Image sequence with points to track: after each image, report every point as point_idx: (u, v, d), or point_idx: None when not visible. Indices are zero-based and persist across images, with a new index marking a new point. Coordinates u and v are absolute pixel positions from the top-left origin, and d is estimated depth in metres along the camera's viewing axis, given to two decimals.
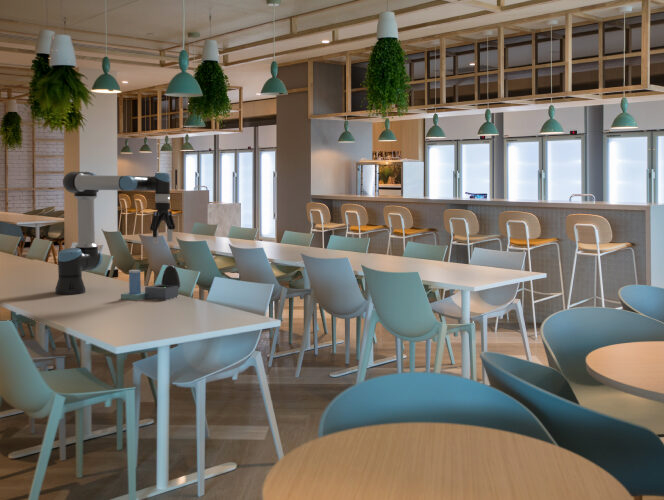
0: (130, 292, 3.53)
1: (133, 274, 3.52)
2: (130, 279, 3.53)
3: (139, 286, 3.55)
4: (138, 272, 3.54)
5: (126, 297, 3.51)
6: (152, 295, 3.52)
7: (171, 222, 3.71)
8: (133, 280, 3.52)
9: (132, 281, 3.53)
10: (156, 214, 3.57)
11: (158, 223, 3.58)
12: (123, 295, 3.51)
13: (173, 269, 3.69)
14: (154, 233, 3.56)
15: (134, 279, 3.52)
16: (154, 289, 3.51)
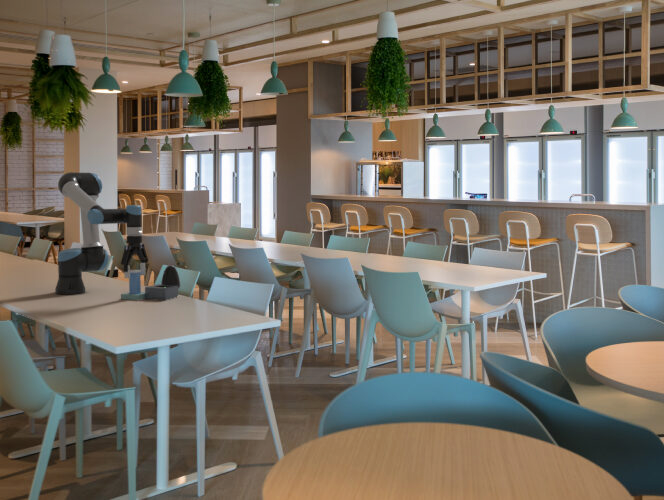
0: (130, 292, 3.53)
1: (133, 274, 3.52)
2: (130, 279, 3.53)
3: (139, 286, 3.55)
4: (138, 272, 3.54)
5: (126, 297, 3.51)
6: (152, 295, 3.52)
7: (144, 255, 3.60)
8: (133, 280, 3.52)
9: (132, 281, 3.53)
10: (127, 248, 3.46)
11: (129, 257, 3.47)
12: (123, 295, 3.51)
13: (173, 269, 3.69)
14: (125, 268, 3.46)
15: (134, 279, 3.52)
16: (154, 289, 3.51)
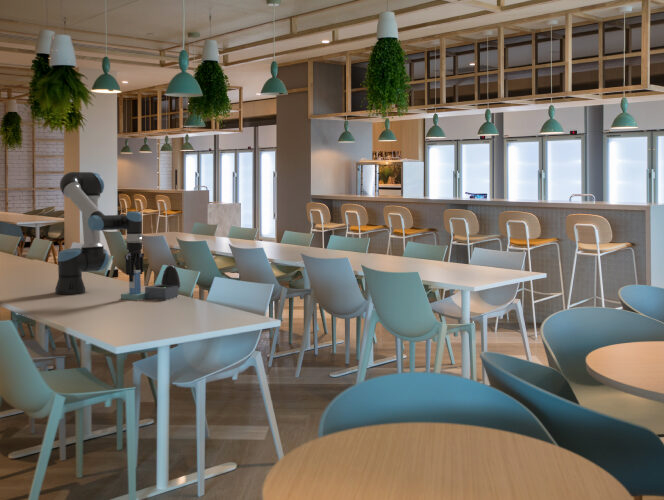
0: (130, 292, 3.53)
1: None
2: None
3: (139, 286, 3.55)
4: (138, 272, 3.54)
5: (126, 297, 3.51)
6: (152, 295, 3.52)
7: (140, 265, 3.58)
8: None
9: None
10: (128, 258, 3.47)
11: (132, 267, 3.50)
12: (123, 295, 3.51)
13: (173, 269, 3.69)
14: (130, 278, 3.51)
15: None
16: (154, 289, 3.51)
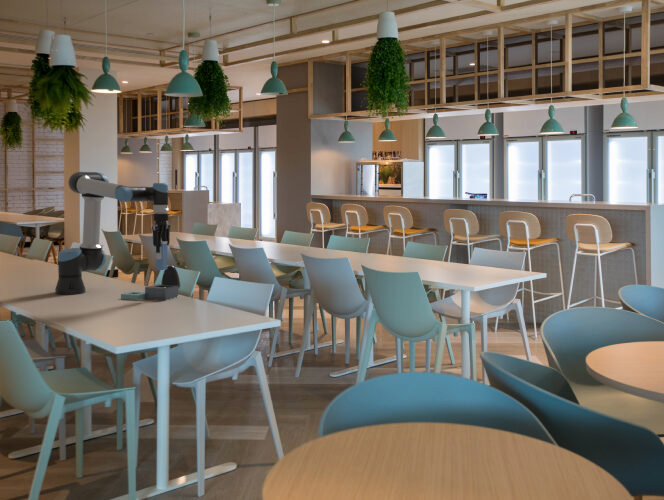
0: (157, 263, 3.54)
1: None
2: None
3: (166, 258, 3.55)
4: (165, 243, 3.54)
5: (126, 297, 3.51)
6: (152, 295, 3.52)
7: (167, 237, 3.58)
8: None
9: None
10: (155, 229, 3.48)
11: (159, 238, 3.51)
12: (123, 295, 3.51)
13: (173, 269, 3.69)
14: (157, 249, 3.51)
15: None
16: (154, 289, 3.51)
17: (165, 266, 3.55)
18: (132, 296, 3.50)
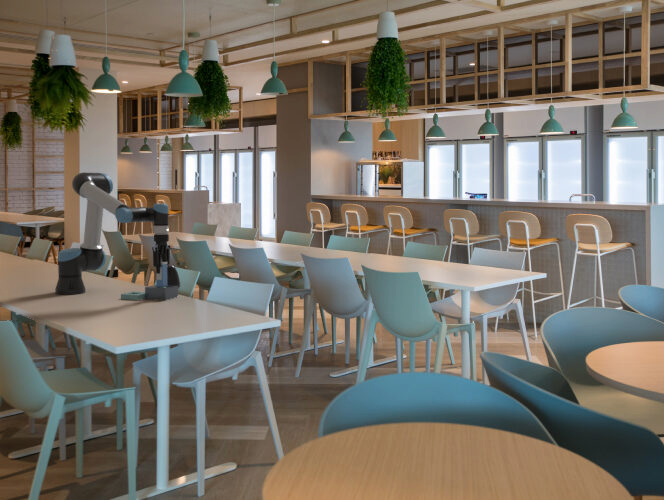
0: (157, 284, 3.55)
1: None
2: None
3: (166, 278, 3.56)
4: (165, 264, 3.55)
5: (126, 297, 3.51)
6: (152, 295, 3.52)
7: (167, 257, 3.59)
8: None
9: None
10: (155, 250, 3.49)
11: (160, 258, 3.52)
12: (123, 295, 3.51)
13: (173, 269, 3.69)
14: (157, 269, 3.52)
15: None
16: (154, 289, 3.51)
17: (165, 286, 3.56)
18: (132, 296, 3.50)
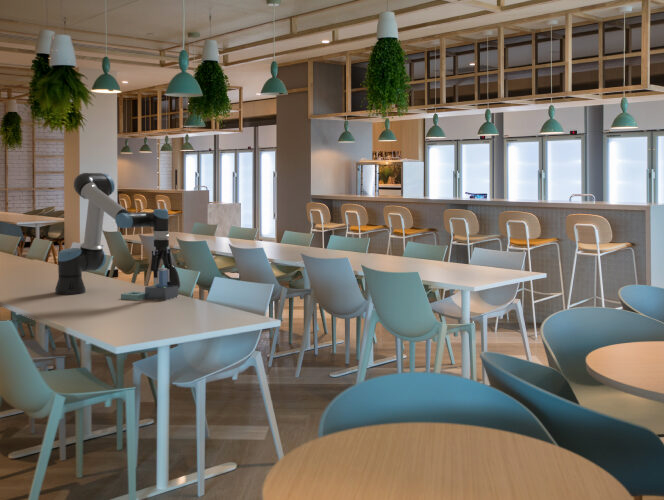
0: None
1: (160, 272, 3.54)
2: None
3: (166, 284, 3.57)
4: (165, 270, 3.55)
5: (126, 297, 3.51)
6: (152, 295, 3.52)
7: (168, 261, 3.61)
8: (160, 278, 3.54)
9: None
10: (154, 254, 3.48)
11: (158, 263, 3.51)
12: (123, 295, 3.51)
13: (173, 269, 3.69)
14: (155, 274, 3.50)
15: (161, 277, 3.54)
16: (154, 289, 3.51)
17: None
18: (132, 296, 3.50)
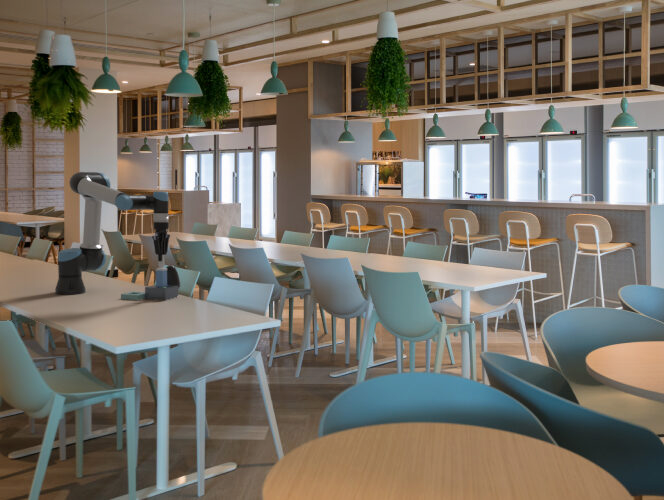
0: None
1: (160, 272, 3.54)
2: (157, 277, 3.54)
3: (166, 284, 3.57)
4: (165, 270, 3.55)
5: (126, 297, 3.51)
6: (152, 295, 3.52)
7: (165, 245, 3.57)
8: (160, 278, 3.54)
9: (158, 279, 3.54)
10: (155, 239, 3.49)
11: (161, 246, 3.52)
12: (123, 295, 3.51)
13: (173, 269, 3.69)
14: (159, 257, 3.53)
15: (161, 277, 3.54)
16: (154, 289, 3.51)
17: None
18: (132, 296, 3.50)
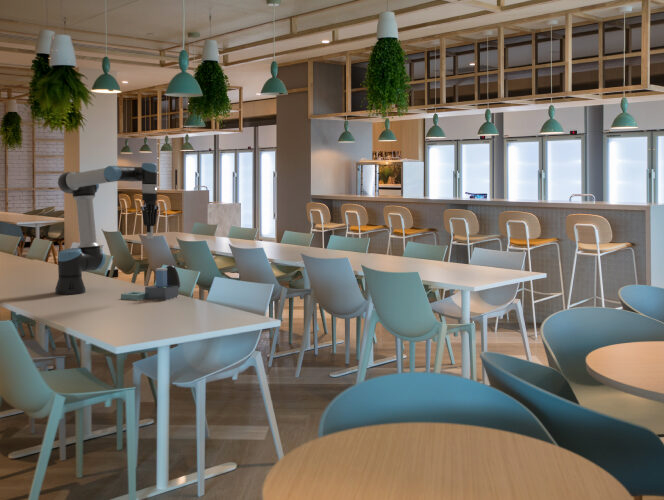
0: None
1: (160, 272, 3.54)
2: (157, 277, 3.54)
3: (166, 284, 3.57)
4: (165, 270, 3.55)
5: (126, 297, 3.51)
6: (152, 295, 3.52)
7: (154, 217, 3.61)
8: (160, 278, 3.54)
9: (158, 279, 3.54)
10: (144, 209, 3.52)
11: (149, 217, 3.56)
12: (123, 295, 3.51)
13: (173, 269, 3.69)
14: (148, 228, 3.56)
15: (161, 277, 3.54)
16: (154, 289, 3.51)
17: None
18: (132, 296, 3.50)
